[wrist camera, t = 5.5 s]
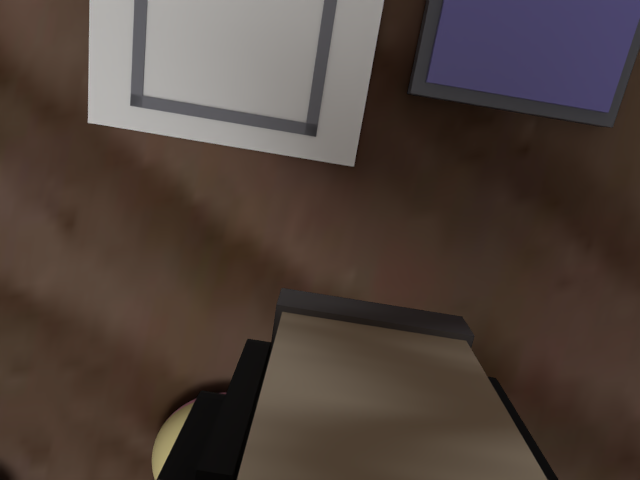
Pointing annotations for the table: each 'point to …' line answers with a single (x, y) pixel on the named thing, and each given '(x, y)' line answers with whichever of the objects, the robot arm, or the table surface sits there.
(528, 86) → the ink pad
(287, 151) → the sheet
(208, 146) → the table surface
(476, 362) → the beige cardboard box
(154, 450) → the donut
